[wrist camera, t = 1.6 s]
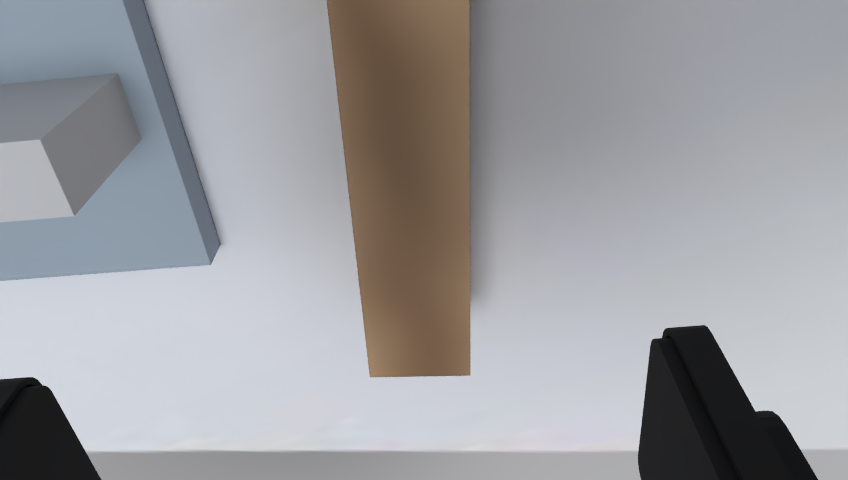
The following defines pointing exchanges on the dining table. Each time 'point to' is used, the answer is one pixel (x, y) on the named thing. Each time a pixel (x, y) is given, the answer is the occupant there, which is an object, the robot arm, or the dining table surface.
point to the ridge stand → (92, 146)
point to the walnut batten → (408, 177)
